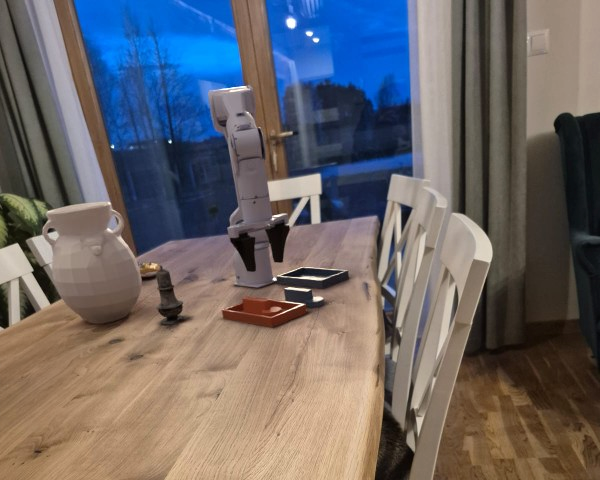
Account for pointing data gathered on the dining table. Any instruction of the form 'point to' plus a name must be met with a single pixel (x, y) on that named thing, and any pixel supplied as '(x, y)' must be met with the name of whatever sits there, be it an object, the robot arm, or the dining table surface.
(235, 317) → the terracotta tray
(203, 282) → the dining table surface
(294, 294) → the dark blue stepped block
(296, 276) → the slate tray
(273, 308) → the orange stepped block
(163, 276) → the salt shaker
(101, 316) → the white handled vase
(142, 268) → the cake
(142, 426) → the dining table surface
